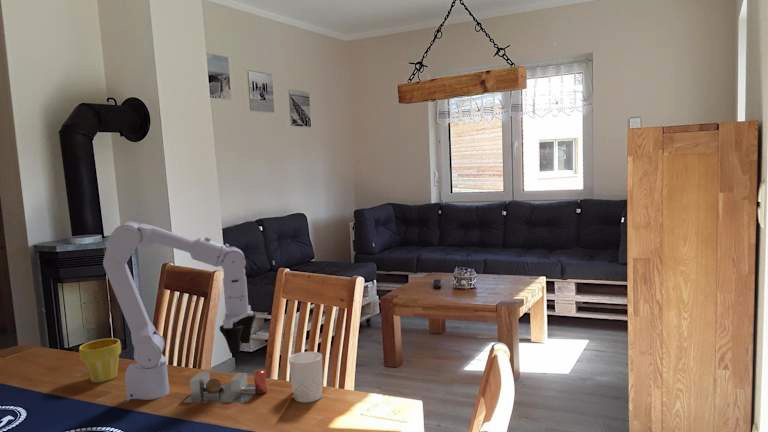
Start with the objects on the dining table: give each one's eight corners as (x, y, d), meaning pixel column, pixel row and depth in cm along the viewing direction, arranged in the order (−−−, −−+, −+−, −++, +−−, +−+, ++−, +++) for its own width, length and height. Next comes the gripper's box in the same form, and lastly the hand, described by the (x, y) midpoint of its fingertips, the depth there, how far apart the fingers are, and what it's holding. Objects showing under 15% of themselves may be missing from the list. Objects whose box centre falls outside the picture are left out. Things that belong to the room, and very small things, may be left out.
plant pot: (73, 383, 163) (69, 348, 162) (104, 370, 173) (101, 336, 172) (102, 387, 159) (98, 351, 158) (132, 373, 169) (128, 339, 168)
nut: (204, 396, 146) (202, 381, 146) (209, 390, 150) (208, 376, 149) (218, 395, 146) (217, 381, 145) (223, 390, 149) (222, 376, 149)
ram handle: (231, 395, 145) (229, 375, 144) (238, 387, 149) (236, 368, 149) (263, 395, 144) (262, 375, 143) (269, 387, 149) (268, 367, 148)
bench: (183, 407, 143) (181, 384, 142) (202, 389, 154) (200, 367, 153) (248, 406, 141) (246, 383, 141) (262, 388, 152) (261, 367, 151)
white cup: (318, 404, 140) (316, 362, 139) (286, 403, 142) (283, 362, 141) (328, 391, 148) (326, 351, 147) (298, 390, 150) (295, 351, 149)
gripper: (241, 302, 145) (245, 357, 147) (260, 288, 159) (264, 338, 161) (213, 303, 146) (217, 357, 147) (234, 289, 160) (238, 339, 162)
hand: (240, 347), depth 154 cm, fingers open, 7 cm apart
